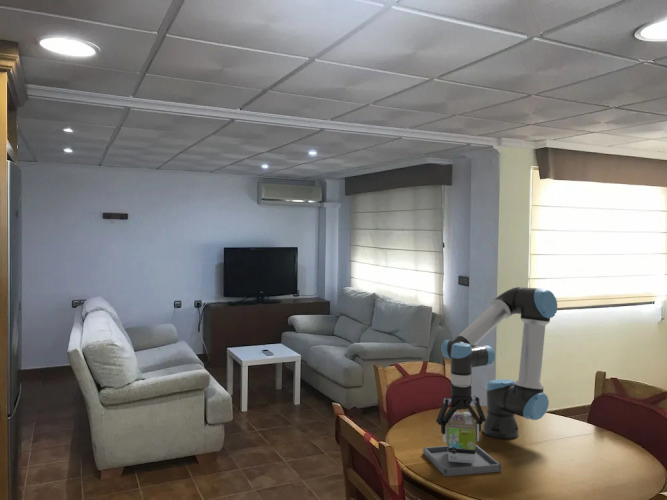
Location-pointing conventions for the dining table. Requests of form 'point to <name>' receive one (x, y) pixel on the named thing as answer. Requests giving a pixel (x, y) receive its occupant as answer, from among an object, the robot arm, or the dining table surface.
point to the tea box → (461, 437)
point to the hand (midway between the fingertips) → (460, 441)
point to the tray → (448, 468)
